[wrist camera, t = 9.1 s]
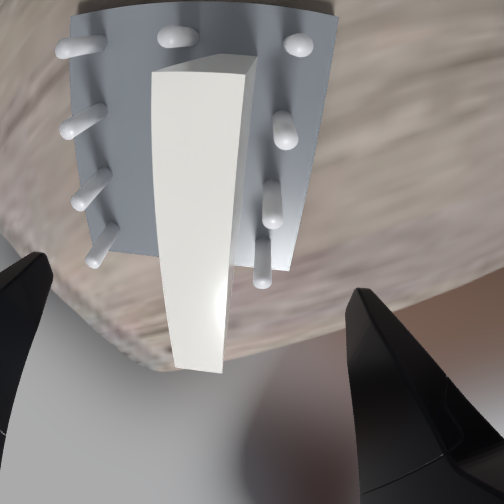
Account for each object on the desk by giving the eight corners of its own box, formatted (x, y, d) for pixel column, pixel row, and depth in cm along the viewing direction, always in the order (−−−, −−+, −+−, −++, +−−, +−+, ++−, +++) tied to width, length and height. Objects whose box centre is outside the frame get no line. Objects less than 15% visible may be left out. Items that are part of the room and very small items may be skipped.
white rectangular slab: (257, 56, 13) (245, 74, 5) (239, 225, 19) (222, 373, 11) (220, 53, 13) (151, 72, 5) (210, 222, 19) (175, 367, 11)
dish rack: (334, 18, 12) (358, 10, 9) (288, 261, 22) (291, 309, 18) (79, 16, 12) (32, 18, 8) (98, 240, 22) (73, 282, 18)
